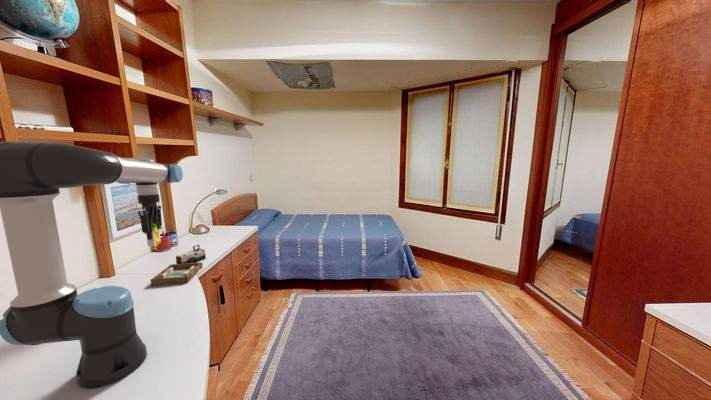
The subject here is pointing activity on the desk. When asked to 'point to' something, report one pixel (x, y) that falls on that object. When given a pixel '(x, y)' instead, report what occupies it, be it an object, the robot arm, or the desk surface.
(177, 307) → the desk surface
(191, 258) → the camera
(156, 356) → the desk surface
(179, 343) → the desk surface
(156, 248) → the toy figure
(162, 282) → the walled box
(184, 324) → the desk surface
